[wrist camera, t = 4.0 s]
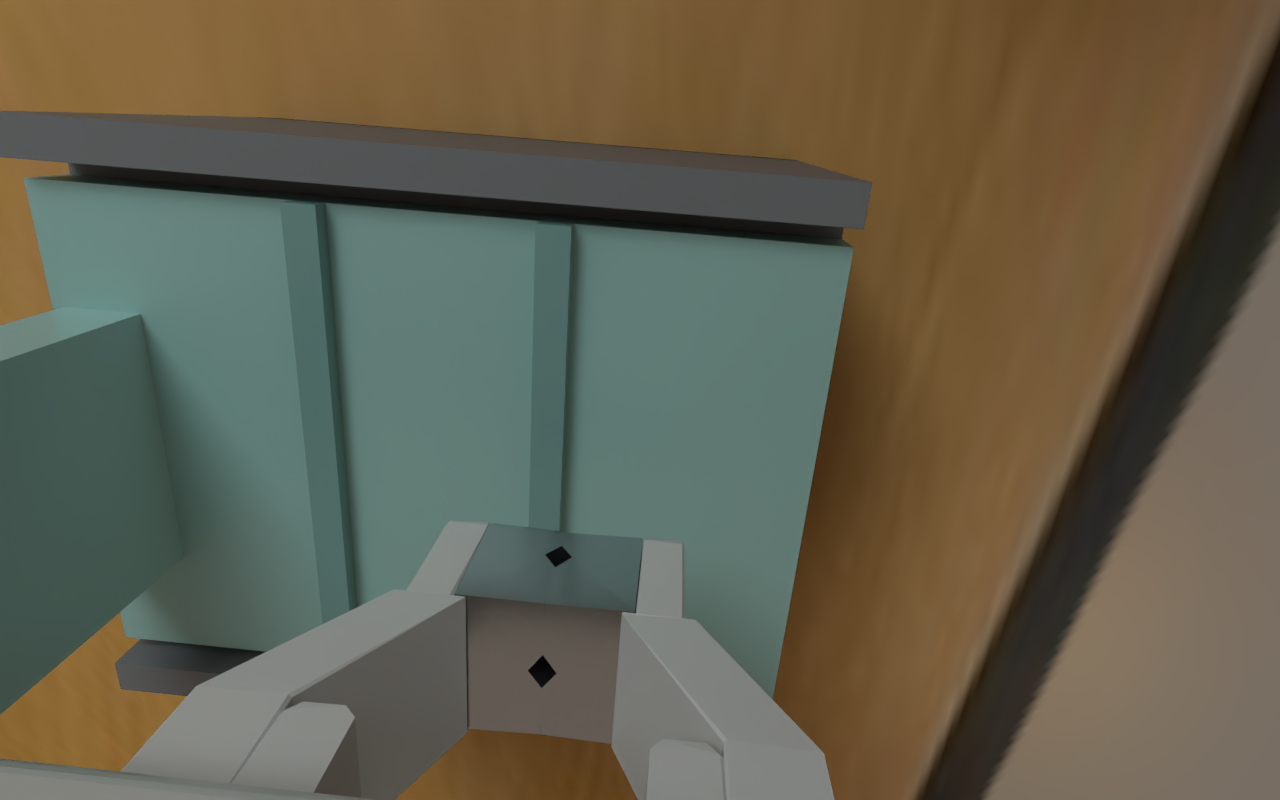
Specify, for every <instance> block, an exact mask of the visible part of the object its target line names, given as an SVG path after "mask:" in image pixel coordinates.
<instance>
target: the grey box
mask: <svg viewBox="0 0 1280 800" xmlns="http://www.w3.org/2000/svg"><path fill="white" fill-rule="evenodd" d="M0 157H5V158H17V159H29V160H41V161H53V162H65V163H68V165H69V170H70V175H81V176H93V177H105V178H117V179H129V180H141V181H153V182H165V183H177V184H189V185H200V186H212V187H224V188H236V189H248V190H260V191H272V192H284V193H296V194H308V195H320V196H332V197H343V198H355V199H367V200H379V201H391V202H403V203H415V204H427V205H439V206H451V207H463V208H475V209H487V210H498V211H510V212H522V213H534V214H546V215H558V216H570V217H582V218H594V219H606V220H618V221H630V222H641V223H653V224H665V225H677V226H689V227H701V228H713V229H725V230H737V231H749V232H761V233H773V234H784V235H796V236H808V237H820V238H832V239H842V234H843V228H856V229H864V225H865V219H866V214H867V208H868V203H869V197H870V192H871V186H872V182H868V181H865V180H861V179H858V178H854V177H851V176H847V175H844V174H841V173H837V172H834V171H830V170H827V169H823V168H820V167H816V166H813V165H810V164H806V163H803V162H799V161H796V160H787V159H775V158H762V157H750V156H738V155H725V154H713V153H701V152H688V151H676V150H664V149H651V148H639V147H626V146H614V145H602V144H589V143H577V142H565V141H552V140H540V139H528V138H515V137H503V136H491V135H478V134H466V133H453V132H441V131H429V130H416V129H404V128H392V127H379V126H367V125H355V124H342V123H330V122H318V121H305V120H293V119H280V118H262V117H223V116H184V115H145V114H106V113H68V112H29V111H0ZM263 653H265V651H255V650H245V649H235V648H226V647H216V646H206V645H196V644H187V643H177V642H167V641H157V640H148V639H140V640H139V641H138V642H137V643H136V644H135V645H134V646H133V647H132V648H131V649H130V650H129V651H128V652H126V653H125V654H124V655H123V656H122V657H121V658H120V659H119V660H118V661H117V662H116V663H115V666H116V670H117V674H118V679H119V683H120V687H121V689H125V690H134V691H144V692H153V693H163V694H172V695H182V696H188V695H189V694H190V692H191V691H192V690H193V689H194V688H195V687H196V686H197V685H199V684H201V683H204V682H206V681H208V680H210V679H212V678H214V677H216V676H218V675H220V674H222V673H224V672H226V671H228V670H230V669H232V668H234V667H236V666H238V665H240V664H242V663H244V662H246V661H249V660H251V659H253V658H255V657H257V656H259V655H261V654H263Z"/></svg>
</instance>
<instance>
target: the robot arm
mask: <svg viewBox="0 0 1280 800" xmlns="http://www.w3.org/2000/svg"><path fill="white" fill-rule="evenodd" d="M642 546H643V550H642ZM641 559H642V561H641ZM640 570H641V571H640ZM467 729H476V730H489V731H503V732H516V733H529V734H541V735H548V736H556V737H563V738H571V739H578V740H586V741H593V742H601V743H608V744H612V746H611V748H612V750H613V752H614V754H615V756H616V757H617V759H618V761H619V763H620V765H621V767H622V769H623V771H624V773H625V775H626V777H627V779H628V781H629V783H630V785H631V787H632V789H633V791H634V793H635V795H636V797H637V799H638V800H834V795H833V791H832V786H831V782H830V778H829V773H828V769H827V764H826V760H825V755H824V753H823V752H822V751H821V750H820V748H819V747H818V746H817V745H816V744H815V743H814V742H813V741H812V740H811V739H810V738H809V737H808V736H807V735H806V734H805V733H804V732H803V731H802V730H801V729H800V728H799V727H798V726H797V724H796V723H795V722H794V721H793V720H792V719H791V718H790V717H789V716H788V715H787V714H786V713H785V712H784V711H783V710H782V709H781V708H780V707H779V706H778V705H777V704H776V703H775V702H774V700H773V699H772V698H771V697H770V696H769V695H768V694H767V693H766V692H765V691H764V690H763V689H762V688H761V687H760V686H759V685H758V684H757V683H756V682H755V681H754V680H753V679H752V678H751V677H750V675H749V674H748V673H747V672H746V671H745V670H744V669H743V668H742V667H741V666H740V665H739V664H738V663H737V662H736V661H735V660H734V659H733V658H732V657H731V656H730V655H729V654H728V653H727V651H726V650H725V649H724V648H723V647H722V646H721V645H720V644H719V643H718V642H717V641H716V640H715V639H714V638H713V637H712V636H711V635H710V634H709V633H708V632H707V631H706V630H705V629H704V627H703V626H702V625H701V624H700V623H699V622H698V621H697V620H695V619H685V618H684V543H683V541H682V540H665V539H647V538H644V544H643V538H635V537H621V536H607V535H593V534H579V533H568V532H565V531H557V530H548V529H539V528H531V527H522V526H514V525H505V524H497V523H492V524H490V523H489V522H482V521H469V520H456V519H454V520H451V521H449V522H448V523H447V524H446V526H445V527H444V529H443V530H442V532H441V534H440V535H439V537H438V539H437V540H436V542H435V544H434V545H433V547H432V548H431V550H430V552H429V553H428V555H427V557H426V558H425V560H424V561H423V563H422V565H421V566H420V568H419V570H418V571H417V573H416V574H415V576H414V578H413V579H412V581H411V583H410V584H409V586H408V587H407V589H406V591H405V590H392V591H390V592H388V593H386V594H384V595H382V596H379V597H377V598H375V599H373V600H371V601H369V602H367V603H365V604H363V605H361V606H359V607H357V608H355V609H353V610H351V611H349V612H347V613H345V614H343V615H341V616H339V617H337V618H334V619H332V620H330V621H328V622H326V623H324V624H322V625H320V626H318V627H316V628H314V629H312V630H310V631H308V632H306V633H304V634H302V635H300V636H298V637H296V638H294V639H291V640H289V641H287V642H285V643H283V644H281V645H279V646H277V647H275V648H273V649H271V650H269V651H267V652H265V653H263V654H261V655H259V656H257V657H255V658H253V659H251V660H249V661H246V662H244V663H242V664H240V665H238V666H236V667H234V668H232V669H230V670H228V671H226V672H224V673H222V674H220V675H218V676H216V677H214V678H212V679H210V680H208V681H206V682H204V683H201V684H199V685H197V686H196V687H195V688H194V689H193V690H192V691H191V692H190V694H189V695H188V696H187V697H186V698H185V699H184V700H183V701H182V703H181V704H180V705H179V706H178V707H177V708H176V709H175V710H174V712H173V713H172V714H171V715H170V716H169V717H168V718H167V719H166V721H165V722H164V723H163V724H162V725H161V726H160V727H159V728H158V730H157V731H156V732H155V733H154V734H153V735H152V736H151V737H150V739H149V740H148V741H147V742H146V743H145V744H144V745H143V746H142V748H141V749H140V750H139V751H138V752H137V753H136V754H135V756H134V757H133V758H132V759H131V760H130V761H129V762H128V763H127V765H126V766H125V767H124V768H123V769H122V770H121V771H120V772H119V771H110V770H101V769H92V768H83V767H73V766H64V765H55V764H46V763H37V762H27V761H18V760H9V759H0V800H395V799H396V798H397V797H398V796H399V795H400V794H401V793H403V792H404V791H405V790H406V789H407V788H408V787H409V786H410V785H411V784H412V783H413V782H415V781H416V780H417V779H418V778H419V777H420V776H421V775H422V774H423V773H424V772H425V771H426V770H428V769H429V768H430V767H431V766H432V765H433V764H434V763H435V762H436V761H437V760H438V759H440V758H441V757H442V756H443V755H444V754H445V753H446V752H447V751H448V750H449V749H450V748H452V747H453V746H454V745H455V744H456V743H457V742H458V741H459V740H460V739H461V738H462V737H463V736H465V735H466V734H467Z"/></svg>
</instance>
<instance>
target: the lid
mask: <svg viewBox="0 0 1280 800" xmlns="http://www.w3.org/2000/svg"><path fill="white" fill-rule="evenodd" d="M24 182H25V187H26V191H27V196H28V200H29V205H30V209H31V214H32V218H33V223H34V227H35V232H36V236H37V241H38V245H39V250H40V254H41V258H42V263H43V267H44V272H45V276H46V281H47V285H48V290H49V294H50V299H51V303H52V308H53V310H52V311H49V312H45V313H42V314H38V315H35V316H31V317H28V318H24V319H21V320H17V321H14V322H10V323H7V324H3V325H0V714H1V713H3V712H4V711H5V710H6V709H7V708H9V707H10V706H11V705H12V704H13V703H14V702H16V701H17V700H18V699H19V698H20V697H21V696H23V695H24V694H25V693H26V692H27V691H28V690H30V689H31V688H32V687H33V686H34V685H35V684H37V683H38V682H39V681H40V680H41V679H42V678H44V677H45V676H46V675H47V674H48V673H49V672H51V671H52V670H53V669H54V668H55V667H56V666H58V665H59V664H60V663H61V662H62V661H63V660H65V659H66V658H67V657H68V656H69V655H70V654H72V653H73V652H74V651H75V650H76V649H77V648H79V647H80V646H81V645H82V644H83V643H84V642H86V641H87V640H88V639H89V638H90V637H91V636H93V635H94V634H95V633H96V632H97V631H98V630H100V629H101V628H102V627H103V626H104V625H106V624H107V623H108V622H109V621H110V620H111V619H113V618H114V617H115V616H116V615H117V614H118V613H121V618H122V622H123V627H124V631H125V635H126V637H128V638H138V639H148V640H157V641H167V642H177V643H187V644H196V645H206V646H216V647H226V648H235V649H245V650H255V651H265V652H267V651H269V650H271V649H273V648H275V647H277V646H279V645H281V644H283V643H285V642H287V641H289V640H291V639H294V638H296V637H298V636H300V635H302V634H304V633H306V632H308V631H310V630H312V629H314V628H316V627H318V626H320V625H322V624H324V623H326V622H328V621H330V620H332V619H334V618H337V617H339V616H341V615H343V614H345V613H347V612H349V611H351V610H353V609H355V608H357V607H359V606H361V605H363V604H365V603H367V602H369V601H371V600H373V599H375V598H377V597H379V596H382V595H384V594H386V593H388V592H390V591H392V590H405V591H406V589H407V587H408V586H409V584H410V583H411V581H412V579H413V578H414V576H415V574H416V573H417V571H418V570H419V568H420V566H421V565H422V563H423V561H424V560H425V558H426V557H427V555H428V553H429V552H430V550H431V548H432V547H433V545H434V544H435V542H436V540H437V539H438V537H439V535H440V534H441V532H442V530H443V529H444V527H445V526H446V524H447V523H448V522H449V521H451V520H454V519H456V520H469V521H482V522H489V523H490V524H492V523H497V524H505V525H514V526H522V527H531V528H539V529H548V530H557V531H565V532H568V533H579V534H593V535H607V536H621V537H635V538H643V544H644V538H647V539H665V540H682V541H683V543H684V618H685V619H695V620H697V621H698V622H699V623H700V624H701V625H702V626H703V627H704V629H705V630H706V631H707V632H708V633H709V634H710V635H711V636H712V637H713V638H714V639H715V640H716V641H717V642H718V643H719V644H720V645H721V646H722V647H723V648H724V649H725V650H726V651H727V653H728V654H729V655H730V656H731V657H732V658H733V659H734V660H735V661H736V662H737V663H738V664H739V665H740V666H741V667H742V668H743V669H744V670H745V671H746V672H747V673H748V674H749V675H750V677H751V678H752V679H753V680H754V681H755V682H756V683H757V684H758V685H759V686H760V687H761V688H762V689H763V690H764V691H765V692H766V693H767V694H768V695H769V696H770V697H771V698H772V699H773V695H774V690H775V684H776V679H777V673H778V667H779V662H780V656H781V651H782V645H783V640H784V634H785V629H786V623H787V617H788V612H789V606H790V601H791V595H792V590H793V584H794V578H795V573H796V567H797V562H798V556H799V551H800V545H801V539H802V534H803V528H804V523H805V517H806V512H807V506H808V500H809V495H810V489H811V484H812V478H813V473H814V467H815V462H816V456H817V450H818V445H819V439H820V434H821V428H822V423H823V417H824V411H825V406H826V400H827V395H828V389H829V384H830V378H831V372H832V367H833V361H834V356H835V350H836V345H837V339H838V333H839V328H840V322H841V317H842V311H843V306H844V300H845V295H846V289H847V283H848V278H849V272H850V267H851V261H852V256H853V250H854V247H852V246H851V245H850V244H848V243H847V242H845V241H844V240H842V239H832V238H820V237H808V236H796V235H784V234H773V233H761V232H749V231H737V230H725V229H713V228H701V227H689V226H677V225H665V224H653V223H641V222H630V221H618V220H606V219H594V218H582V217H570V216H558V215H546V214H534V213H522V212H510V211H498V210H487V209H475V208H463V207H451V206H439V205H427V204H415V203H403V202H391V201H379V200H367V199H355V198H343V197H332V196H320V195H308V194H296V193H284V192H272V191H260V190H248V189H236V188H224V187H212V186H200V185H189V184H177V183H165V182H153V181H141V180H129V179H117V178H105V177H93V176H81V175H69V174H66V175H53V176H39V177H26V178H24ZM642 550H643V546H642ZM641 561H642V559H641ZM640 571H641V570H640Z"/></svg>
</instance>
